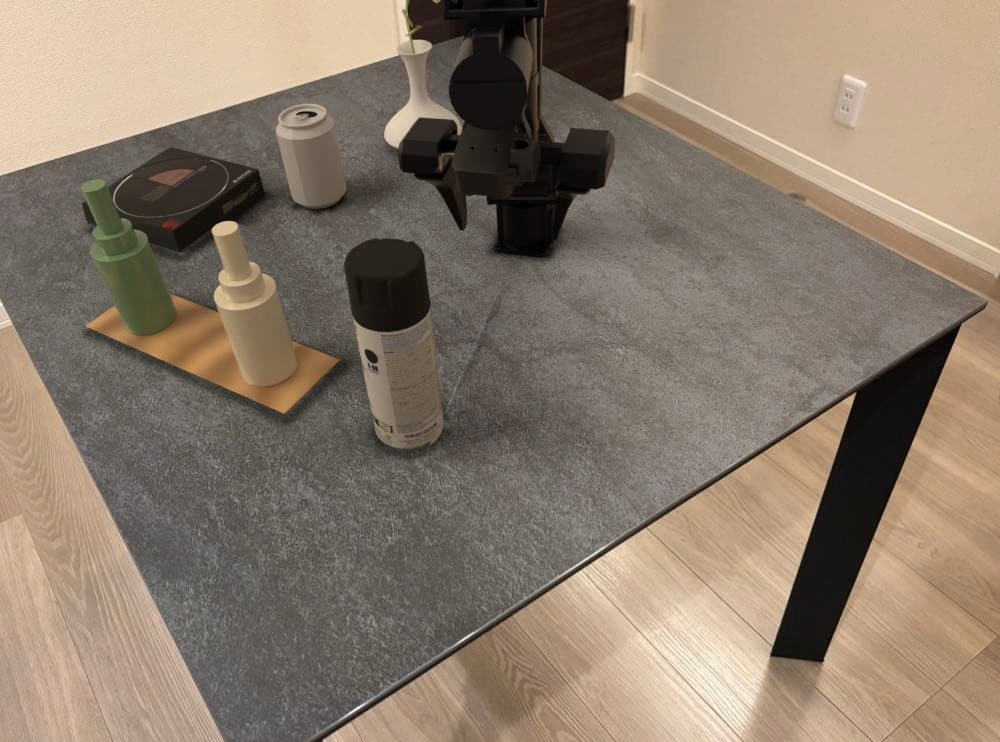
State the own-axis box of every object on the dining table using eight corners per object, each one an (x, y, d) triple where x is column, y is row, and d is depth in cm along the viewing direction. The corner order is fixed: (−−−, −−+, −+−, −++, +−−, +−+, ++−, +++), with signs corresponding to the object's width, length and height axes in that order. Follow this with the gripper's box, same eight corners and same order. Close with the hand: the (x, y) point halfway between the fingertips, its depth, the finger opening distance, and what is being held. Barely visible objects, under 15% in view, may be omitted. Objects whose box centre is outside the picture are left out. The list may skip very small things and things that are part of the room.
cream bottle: (230, 382, 85) (179, 243, 74) (256, 345, 89) (212, 207, 78) (282, 390, 84) (238, 250, 72) (307, 352, 88) (269, 213, 76)
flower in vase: (462, 158, 117) (447, -32, 100) (382, 163, 118) (354, -25, 100) (463, 116, 127) (449, -65, 109) (389, 121, 127) (364, -58, 110)
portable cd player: (176, 171, 121) (167, 145, 118) (265, 195, 114) (258, 169, 111) (90, 228, 111) (78, 202, 108) (182, 258, 104) (172, 231, 102)
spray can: (388, 401, 83) (356, 230, 69) (453, 410, 82) (434, 237, 68) (366, 449, 79) (327, 277, 65) (434, 460, 77) (410, 286, 63)
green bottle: (113, 331, 93) (49, 198, 81) (142, 299, 97) (85, 167, 85) (159, 339, 91) (101, 204, 80) (187, 306, 95) (135, 172, 83)
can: (356, 186, 114) (341, 102, 106) (333, 215, 109) (315, 129, 101) (308, 180, 116) (289, 97, 108) (283, 208, 111) (261, 124, 103)
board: (341, 366, 87) (340, 359, 87) (286, 420, 82) (284, 413, 82) (147, 290, 100) (144, 283, 99) (88, 332, 95) (85, 325, 94)
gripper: (363, 109, 66) (389, 270, 77) (596, 125, 61) (589, 294, 72) (409, 52, 73) (427, 207, 84) (621, 62, 68) (610, 225, 79)
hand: (508, 233), depth 80 cm, fingers open, 9 cm apart
